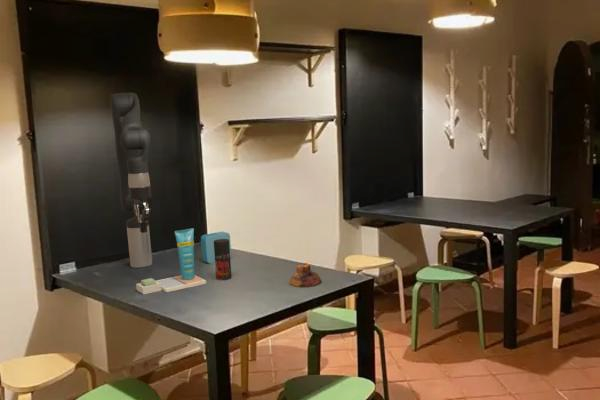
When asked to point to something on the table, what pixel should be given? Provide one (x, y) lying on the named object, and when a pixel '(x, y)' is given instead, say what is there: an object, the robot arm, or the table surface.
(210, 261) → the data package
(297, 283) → the bell
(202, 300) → the table surface
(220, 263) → the deodorant
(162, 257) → the table surface
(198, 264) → the table surface
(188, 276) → the tube
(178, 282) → the picture card
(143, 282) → the button
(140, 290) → the button frame
